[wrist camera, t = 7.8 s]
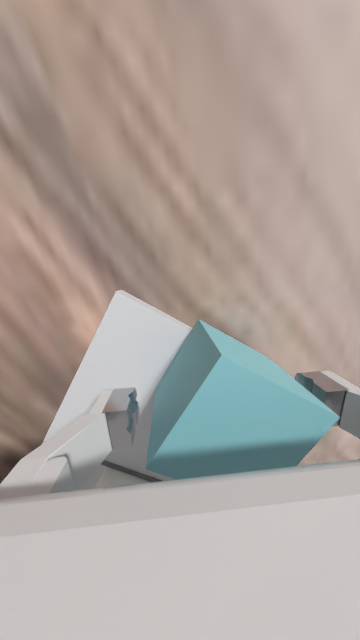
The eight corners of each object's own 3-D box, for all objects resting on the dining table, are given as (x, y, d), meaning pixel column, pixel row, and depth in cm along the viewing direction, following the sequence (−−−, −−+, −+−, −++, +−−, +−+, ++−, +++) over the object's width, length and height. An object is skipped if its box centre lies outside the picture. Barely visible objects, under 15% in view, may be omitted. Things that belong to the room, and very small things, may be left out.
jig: (157, 566, 16) (152, 688, 12) (4, 527, 14) (-83, 660, 9) (303, 388, 12) (390, 461, 7) (121, 289, 10) (74, 302, 5)
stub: (224, 420, 11) (256, 509, 7) (155, 389, 10) (145, 469, 6) (269, 358, 10) (340, 417, 6) (198, 319, 9) (221, 355, 5)
